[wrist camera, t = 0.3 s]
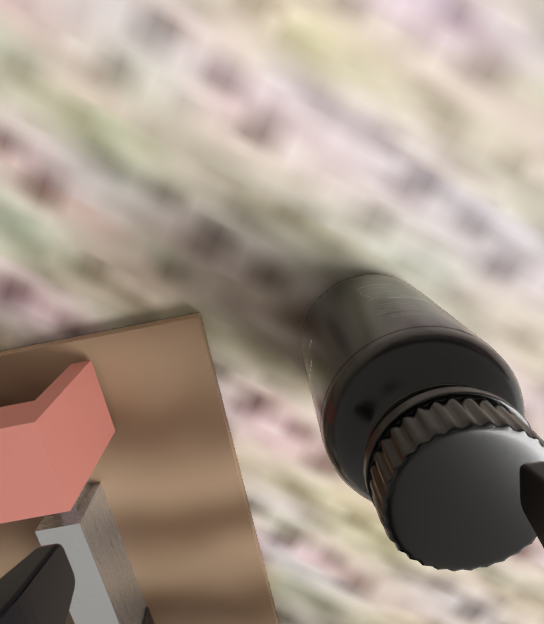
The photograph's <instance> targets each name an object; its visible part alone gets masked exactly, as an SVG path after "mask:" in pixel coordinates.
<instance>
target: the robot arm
mask: <svg viewBox="0 0 544 624" xmlns="http://www.w3.org/2000/svg"><path fill="white" fill-rule="evenodd" d="M519 479H520V502H521V506H522V509H523V511H524V513H525V515H526V517H527V519H528V521H529V523H530V524H531V526H532V528H533V530H534V531H535V533H536V535H537V537H538V539H539V540H540V542H541V544H542V546H543V548H544V461H538V462H532V463H526V464H523V465H522V466H521V467H520V470H519ZM74 589H75V576H74V572H73V570H72V567H71V565H70V562H69V560H68V557H67V555H66V552H65V550H64V548H63V546H62V545H61V544H57V543H56V544H50V545H44V546H40V547H38V548H36V549H35V550H34V551H32V552H31V553H30V554H29V555H28V556H27V557H25V558H24V559H23V560H22V561H21V562H19V563H18V564H17V565H16V566H15V567H13V568H12V569H11V570H10V571H9V572H7V573H6V574H5V575H4V576H3V577H1V578H0V624H66V621H67V617H68V613H69V609H70V605H71V601H72V597H73V593H74Z"/></svg>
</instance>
